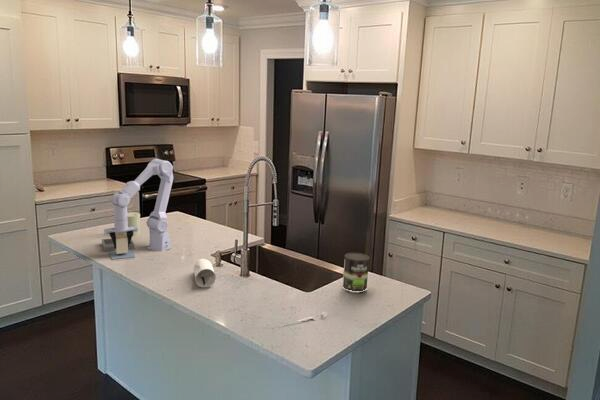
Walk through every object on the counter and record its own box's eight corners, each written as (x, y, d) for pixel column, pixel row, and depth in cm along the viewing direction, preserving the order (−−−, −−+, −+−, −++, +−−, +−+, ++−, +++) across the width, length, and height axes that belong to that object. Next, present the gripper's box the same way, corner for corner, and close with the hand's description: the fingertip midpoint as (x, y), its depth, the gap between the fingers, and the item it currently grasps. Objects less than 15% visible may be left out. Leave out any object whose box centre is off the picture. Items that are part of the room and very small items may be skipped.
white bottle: (210, 270, 210) (211, 253, 208) (215, 287, 192) (215, 268, 191) (192, 271, 208) (192, 254, 206) (195, 288, 190) (195, 269, 188)
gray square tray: (130, 242, 242) (130, 236, 242) (134, 250, 231) (134, 244, 230) (101, 245, 236) (101, 239, 235) (104, 253, 224) (104, 247, 224)
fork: (275, 327, 163) (275, 322, 163) (323, 314, 173) (323, 310, 173) (280, 331, 160) (280, 326, 160) (328, 318, 171) (329, 313, 170)
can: (137, 238, 250) (136, 216, 247) (119, 237, 250) (118, 215, 247) (143, 233, 259) (142, 211, 256) (126, 232, 259) (125, 210, 256)
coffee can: (370, 293, 194) (373, 260, 192) (346, 293, 192) (348, 260, 189) (362, 283, 204) (364, 252, 201) (339, 284, 202) (341, 252, 199)
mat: (131, 252, 228) (131, 250, 228) (135, 258, 219) (134, 256, 219) (109, 254, 223) (109, 252, 223) (111, 261, 215) (111, 259, 215)
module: (126, 250, 225) (126, 234, 223) (128, 252, 220) (127, 237, 219) (115, 251, 222) (114, 235, 221) (116, 253, 218) (116, 238, 217)
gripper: (135, 215, 224) (136, 243, 227) (102, 218, 218) (104, 246, 221) (138, 219, 218) (139, 247, 221) (104, 221, 212) (105, 251, 215)
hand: (121, 247), depth 221 cm, fingers closed on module, 5 cm apart
